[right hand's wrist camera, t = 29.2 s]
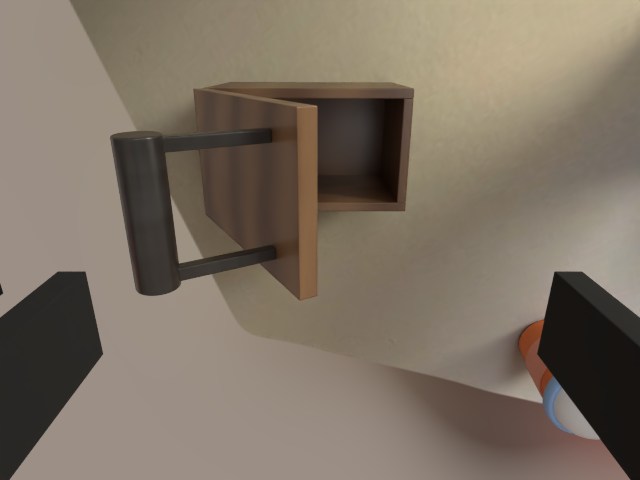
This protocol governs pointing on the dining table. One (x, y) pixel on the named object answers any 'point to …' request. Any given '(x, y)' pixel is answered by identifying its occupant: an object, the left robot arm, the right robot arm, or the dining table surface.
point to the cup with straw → (552, 387)
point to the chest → (352, 139)
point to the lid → (227, 191)
